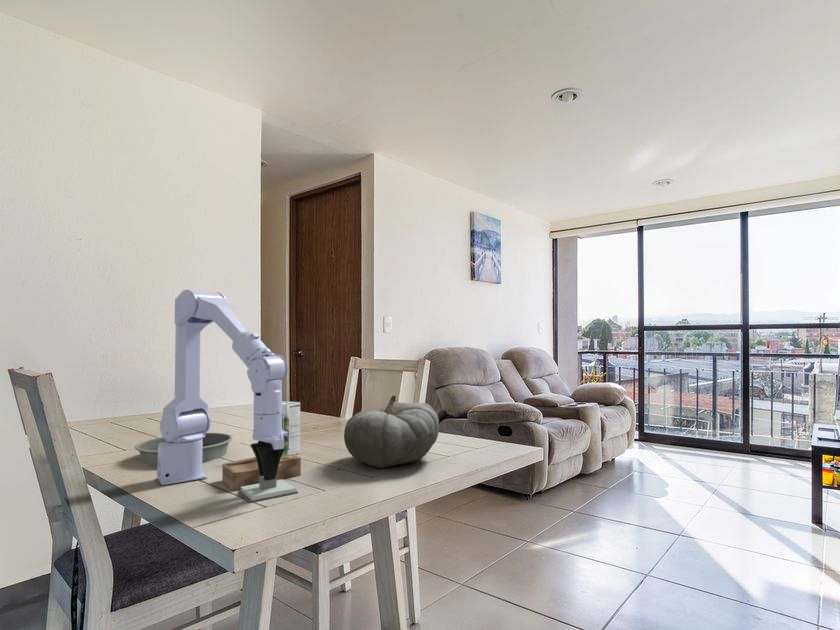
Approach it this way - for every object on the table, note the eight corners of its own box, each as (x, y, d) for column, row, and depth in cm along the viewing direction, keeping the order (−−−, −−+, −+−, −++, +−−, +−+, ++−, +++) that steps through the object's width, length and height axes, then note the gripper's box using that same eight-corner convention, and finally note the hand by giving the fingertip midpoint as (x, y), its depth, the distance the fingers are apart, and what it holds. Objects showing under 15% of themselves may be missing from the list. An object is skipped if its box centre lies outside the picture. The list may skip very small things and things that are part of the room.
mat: (249, 502, 98) (249, 500, 98) (238, 492, 104) (238, 490, 104) (297, 492, 103) (297, 491, 103) (284, 483, 110) (284, 482, 110)
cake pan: (210, 443, 155) (210, 429, 155) (248, 455, 138) (248, 439, 138) (122, 458, 137) (122, 441, 138) (153, 474, 120) (153, 455, 121)
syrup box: (270, 455, 137) (270, 402, 137) (285, 451, 142) (285, 400, 142) (286, 457, 134) (286, 404, 135) (301, 453, 139) (300, 401, 140)
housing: (233, 490, 106) (233, 471, 106) (222, 479, 114) (222, 461, 114) (304, 477, 115) (304, 459, 115) (289, 468, 123) (289, 451, 123)
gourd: (463, 449, 129) (450, 384, 129) (397, 487, 111) (381, 412, 111) (397, 445, 146) (385, 388, 146) (330, 478, 128) (317, 413, 128)
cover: (251, 500, 98) (252, 484, 98) (240, 490, 105) (240, 475, 105) (295, 491, 103) (295, 476, 103) (282, 482, 110) (282, 468, 110)
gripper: (298, 415, 101) (298, 482, 100) (275, 407, 113) (275, 467, 112) (264, 418, 97) (264, 489, 96) (243, 410, 109) (243, 473, 108)
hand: (267, 478), depth 104 cm, fingers closed
